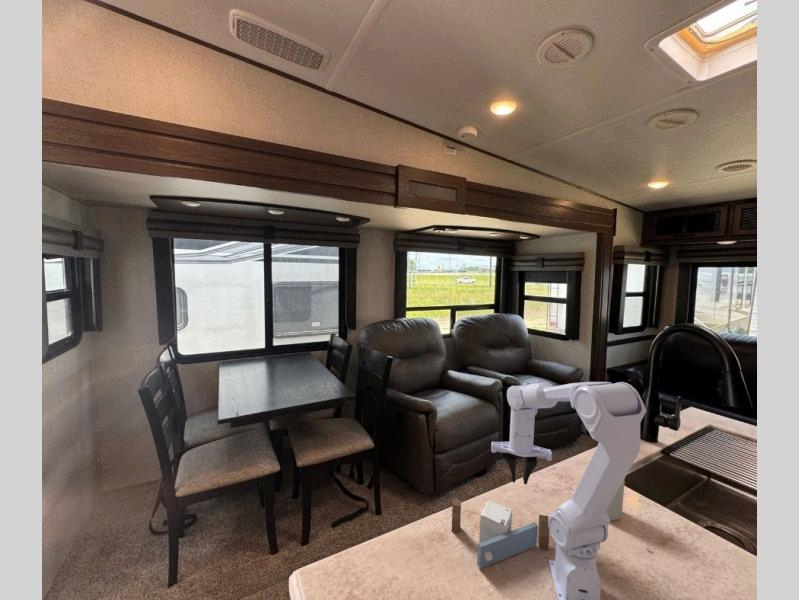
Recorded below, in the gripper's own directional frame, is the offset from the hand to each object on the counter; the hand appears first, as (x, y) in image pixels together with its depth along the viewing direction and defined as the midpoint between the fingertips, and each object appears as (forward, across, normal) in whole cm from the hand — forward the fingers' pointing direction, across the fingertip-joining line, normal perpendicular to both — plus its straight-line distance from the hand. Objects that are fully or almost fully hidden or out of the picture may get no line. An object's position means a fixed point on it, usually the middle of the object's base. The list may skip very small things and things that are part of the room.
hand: (519, 480), depth 84 cm
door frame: (+9, +6, +9) cm, 14 cm away
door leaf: (+9, +3, +14) cm, 17 cm away
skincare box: (+10, +6, +10) cm, 15 cm away
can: (+10, -23, -7) cm, 26 cm away
